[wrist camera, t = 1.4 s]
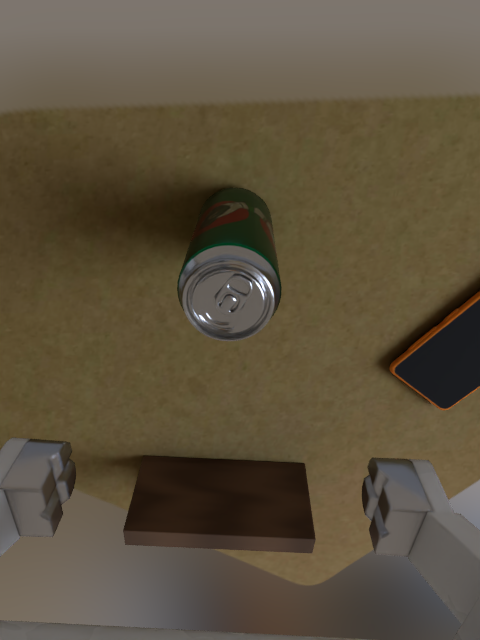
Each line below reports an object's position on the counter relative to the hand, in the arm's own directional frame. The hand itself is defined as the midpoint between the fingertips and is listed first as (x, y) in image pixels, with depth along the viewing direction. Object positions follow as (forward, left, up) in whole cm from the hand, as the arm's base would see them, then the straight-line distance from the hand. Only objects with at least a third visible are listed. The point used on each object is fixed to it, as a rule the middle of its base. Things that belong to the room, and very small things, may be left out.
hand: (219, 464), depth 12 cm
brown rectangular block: (+10, -25, -21) cm, 34 cm away
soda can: (0, 0, -22) cm, 22 cm away
